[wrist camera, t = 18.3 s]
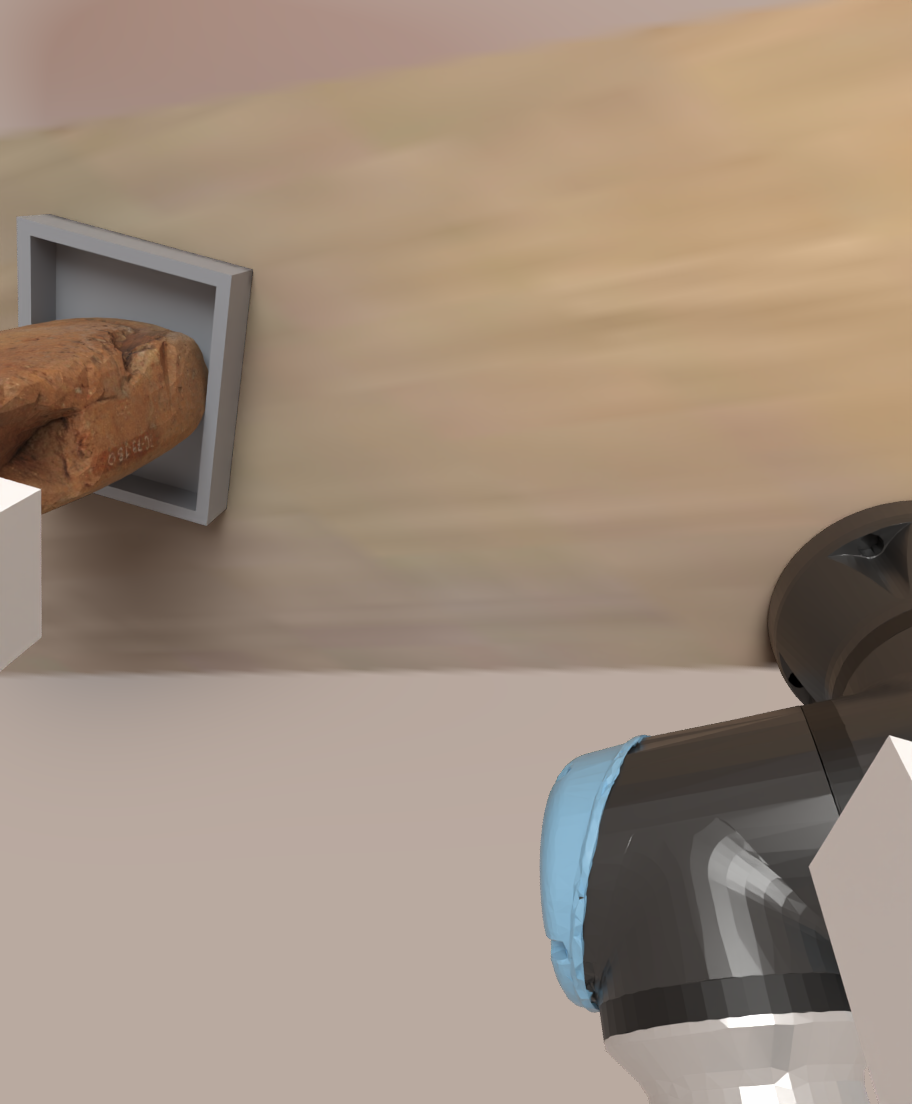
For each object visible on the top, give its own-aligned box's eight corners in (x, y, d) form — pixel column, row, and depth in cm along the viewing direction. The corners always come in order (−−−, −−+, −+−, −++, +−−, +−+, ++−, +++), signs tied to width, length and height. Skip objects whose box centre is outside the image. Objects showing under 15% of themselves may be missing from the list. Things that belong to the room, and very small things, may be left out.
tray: (252, 269, 47) (231, 275, 44) (226, 508, 54) (206, 525, 51) (49, 214, 48) (16, 216, 45) (49, 457, 55) (20, 472, 52)
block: (74, 429, 53) (-213, 557, 35) (48, 310, 50) (-282, 384, 32) (229, 436, 51) (6, 576, 33) (212, 312, 47) (-44, 394, 30)
